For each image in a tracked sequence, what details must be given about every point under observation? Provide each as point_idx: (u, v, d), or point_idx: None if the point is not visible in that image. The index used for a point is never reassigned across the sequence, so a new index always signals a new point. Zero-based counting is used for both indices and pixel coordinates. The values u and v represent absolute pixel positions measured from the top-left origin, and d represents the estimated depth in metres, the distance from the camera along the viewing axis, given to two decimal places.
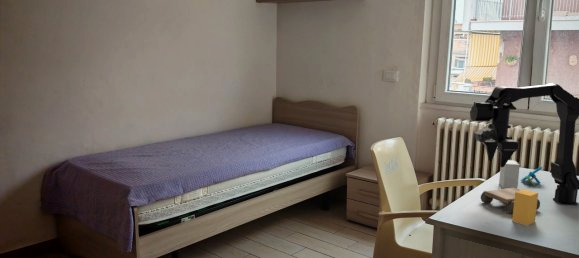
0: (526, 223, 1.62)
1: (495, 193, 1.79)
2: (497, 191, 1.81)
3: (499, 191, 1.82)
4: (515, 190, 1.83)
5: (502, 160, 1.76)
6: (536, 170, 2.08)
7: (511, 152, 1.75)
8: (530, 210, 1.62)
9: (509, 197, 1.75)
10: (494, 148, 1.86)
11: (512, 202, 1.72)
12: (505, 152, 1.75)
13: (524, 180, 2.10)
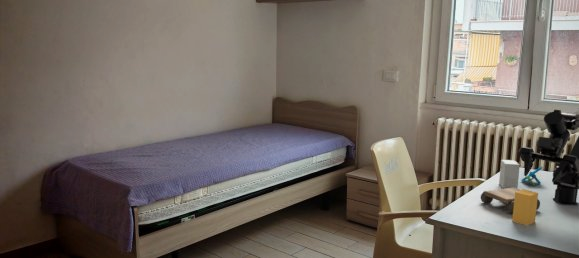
0: (526, 223, 1.62)
1: (495, 193, 1.79)
2: (497, 191, 1.81)
3: (499, 191, 1.82)
4: (515, 190, 1.83)
5: (558, 174, 1.64)
6: (536, 170, 2.07)
7: (566, 172, 1.66)
8: (530, 210, 1.62)
9: (509, 197, 1.75)
10: (530, 166, 1.74)
11: (512, 202, 1.72)
12: (562, 169, 1.66)
13: (524, 180, 2.10)
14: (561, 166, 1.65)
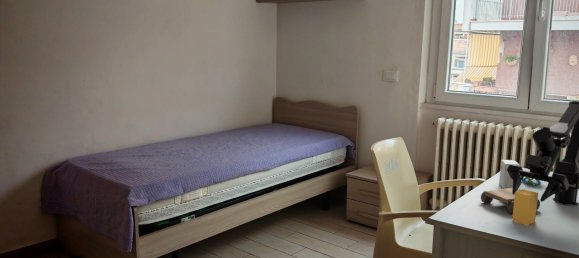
0: (526, 223, 1.62)
1: (495, 193, 1.79)
2: (497, 191, 1.81)
3: (499, 191, 1.82)
4: None
5: (546, 194, 1.61)
6: None
7: (555, 191, 1.62)
8: (530, 210, 1.62)
9: (509, 197, 1.75)
10: (519, 185, 1.70)
11: (512, 202, 1.72)
12: (551, 188, 1.62)
13: (524, 180, 2.10)
14: (550, 185, 1.61)
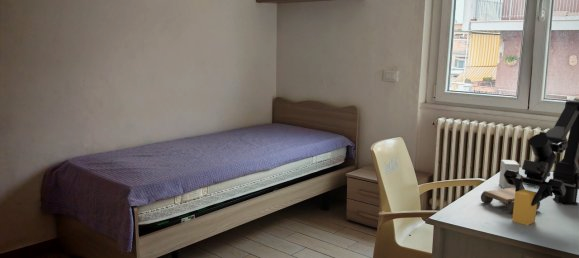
0: (526, 223, 1.62)
1: (495, 193, 1.79)
2: (497, 191, 1.81)
3: (499, 191, 1.82)
4: None
5: (537, 198, 1.61)
6: None
7: (546, 195, 1.63)
8: (530, 210, 1.62)
9: (509, 197, 1.75)
10: None
11: (512, 202, 1.72)
12: None
13: None
14: (540, 189, 1.61)
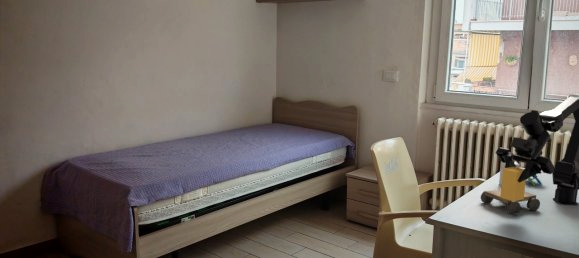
0: (512, 199, 1.64)
1: (495, 193, 1.79)
2: (497, 191, 1.81)
3: (499, 191, 1.82)
4: None
5: (524, 175, 1.63)
6: None
7: (534, 172, 1.64)
8: (517, 186, 1.63)
9: None
10: None
11: (512, 202, 1.72)
12: (530, 169, 1.63)
13: None
14: (528, 166, 1.63)
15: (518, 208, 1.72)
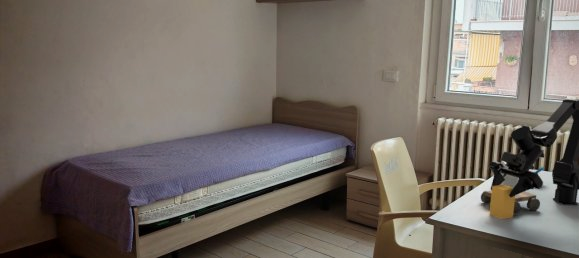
0: (500, 216, 1.67)
1: None
2: None
3: None
4: None
5: (516, 190, 1.65)
6: (537, 170, 2.07)
7: (526, 188, 1.65)
8: (505, 204, 1.67)
9: None
10: (500, 182, 1.74)
11: None
12: (522, 184, 1.65)
13: None
14: (519, 181, 1.65)
15: (518, 208, 1.72)
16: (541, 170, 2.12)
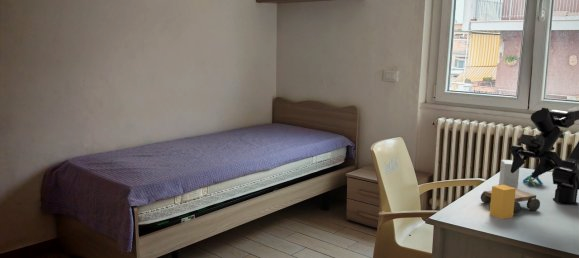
0: (500, 216, 1.67)
1: None
2: None
3: None
4: None
5: (537, 170, 1.67)
6: None
7: (549, 168, 1.68)
8: (505, 204, 1.67)
9: None
10: (520, 164, 1.78)
11: None
12: (544, 165, 1.68)
13: (525, 180, 2.10)
14: (541, 162, 1.67)
15: (518, 208, 1.72)
16: None
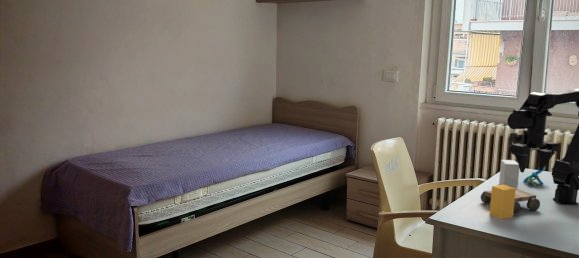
0: (500, 216, 1.67)
1: None
2: None
3: None
4: None
5: (519, 165, 1.77)
6: (537, 171, 2.07)
7: (524, 158, 1.74)
8: (505, 204, 1.67)
9: None
10: (545, 158, 1.79)
11: None
12: (521, 157, 1.76)
13: (525, 180, 2.10)
14: None
15: (518, 208, 1.72)
16: (542, 170, 2.11)
